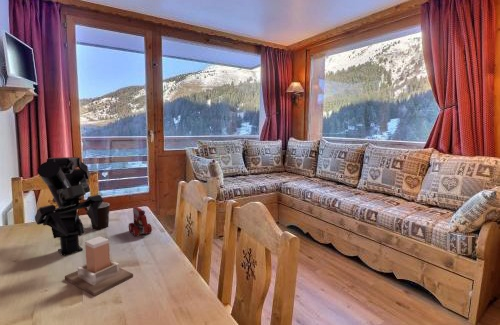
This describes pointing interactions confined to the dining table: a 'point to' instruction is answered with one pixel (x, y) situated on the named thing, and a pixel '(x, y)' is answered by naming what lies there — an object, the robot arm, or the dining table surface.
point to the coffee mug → (102, 216)
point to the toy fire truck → (139, 223)
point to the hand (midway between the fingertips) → (82, 230)
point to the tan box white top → (97, 254)
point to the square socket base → (98, 278)
